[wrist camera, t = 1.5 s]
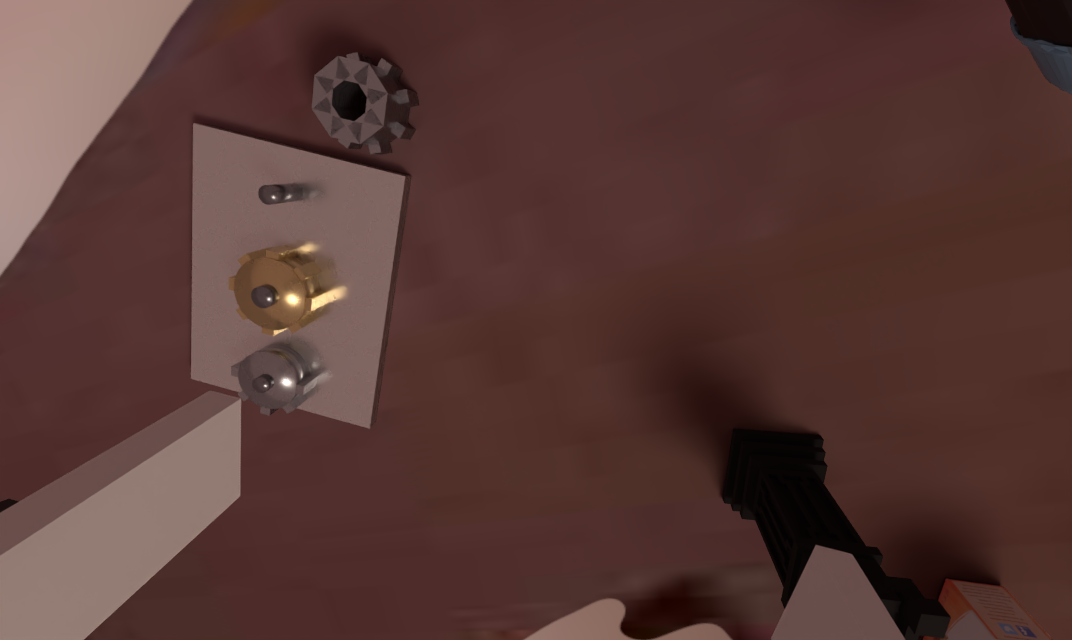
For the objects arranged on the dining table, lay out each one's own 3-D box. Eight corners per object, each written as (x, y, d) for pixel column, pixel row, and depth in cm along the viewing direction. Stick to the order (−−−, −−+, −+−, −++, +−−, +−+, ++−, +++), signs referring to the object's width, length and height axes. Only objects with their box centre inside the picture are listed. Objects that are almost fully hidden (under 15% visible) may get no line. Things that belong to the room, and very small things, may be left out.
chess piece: (722, 498, 51) (791, 693, 33) (733, 428, 49) (814, 596, 30) (805, 506, 51) (925, 712, 32) (820, 435, 48) (960, 612, 29)
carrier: (205, 124, 47) (155, 119, 42) (411, 175, 46) (386, 177, 41) (201, 373, 55) (159, 395, 50) (375, 421, 54) (351, 449, 49)
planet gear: (339, 50, 43) (307, 37, 39) (424, 70, 43) (401, 59, 38) (331, 141, 46) (300, 139, 41) (411, 161, 45) (388, 161, 41)
